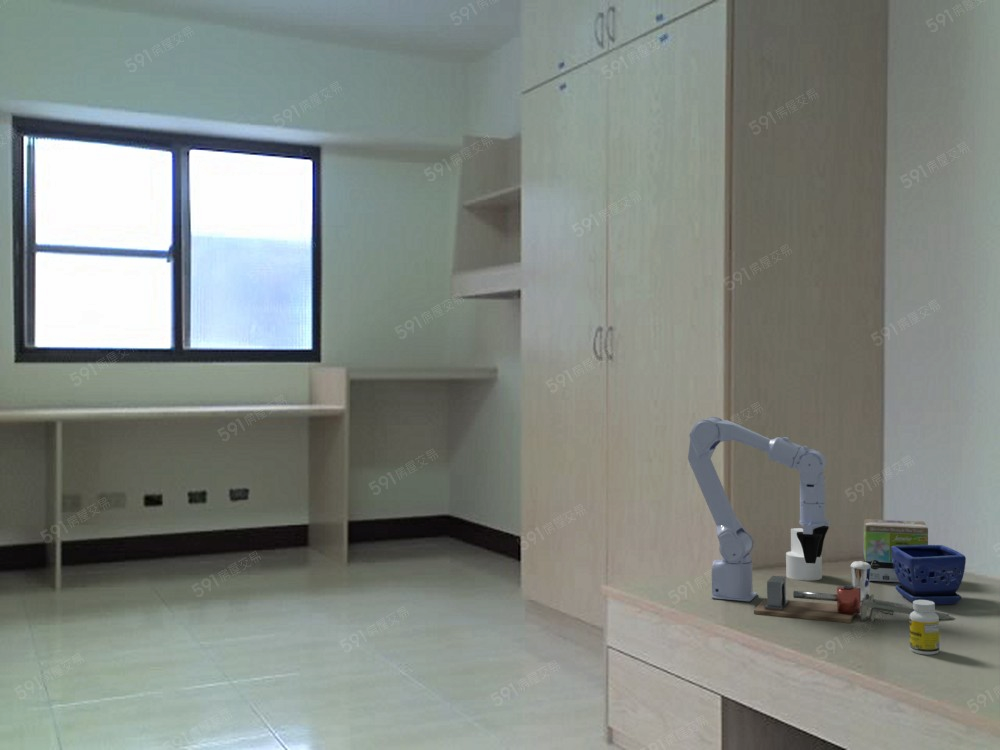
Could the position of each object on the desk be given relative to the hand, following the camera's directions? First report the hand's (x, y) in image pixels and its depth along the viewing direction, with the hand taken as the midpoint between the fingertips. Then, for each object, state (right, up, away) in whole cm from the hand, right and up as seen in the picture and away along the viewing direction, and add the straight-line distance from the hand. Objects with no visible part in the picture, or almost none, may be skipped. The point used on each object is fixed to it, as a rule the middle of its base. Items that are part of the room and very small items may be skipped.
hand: (813, 559), depth 241 cm
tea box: (+28, -9, +23) cm, 38 cm away
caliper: (+16, -11, -15) cm, 25 cm away
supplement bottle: (+10, -11, -38) cm, 41 cm away
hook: (0, -10, -9) cm, 13 cm away
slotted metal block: (-10, -10, -4) cm, 14 cm away
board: (-4, -11, -7) cm, 13 cm away
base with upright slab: (+6, -10, +28) cm, 31 cm away
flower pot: (+28, -10, +1) cm, 29 cm away
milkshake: (+13, -10, +3) cm, 17 cm away
